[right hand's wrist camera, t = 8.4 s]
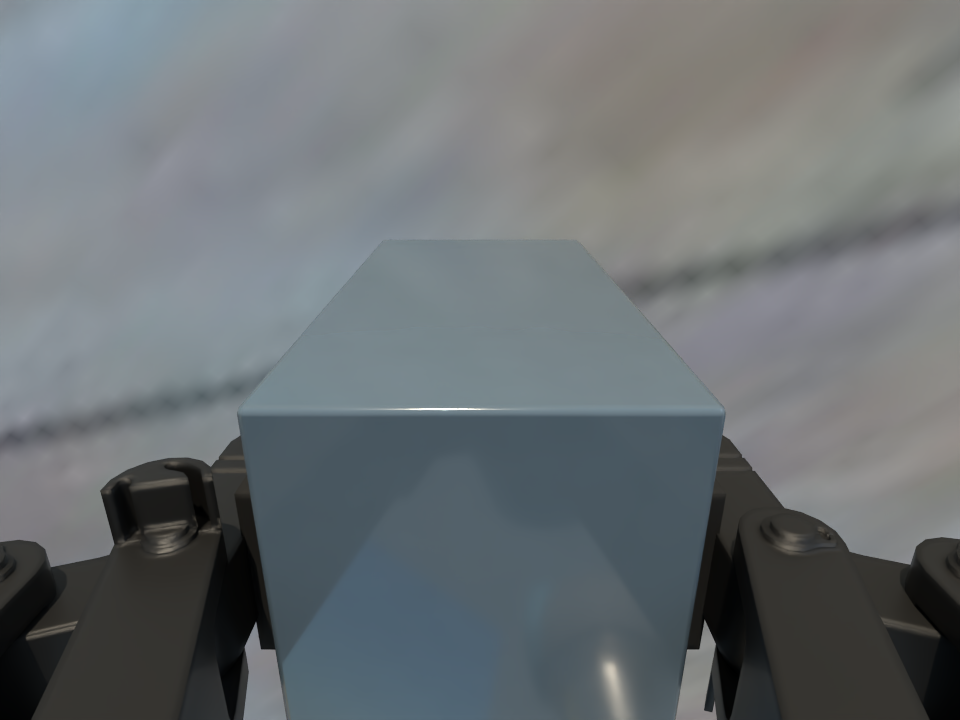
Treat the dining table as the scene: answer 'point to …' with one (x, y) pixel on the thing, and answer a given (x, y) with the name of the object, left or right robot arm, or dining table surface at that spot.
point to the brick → (481, 492)
